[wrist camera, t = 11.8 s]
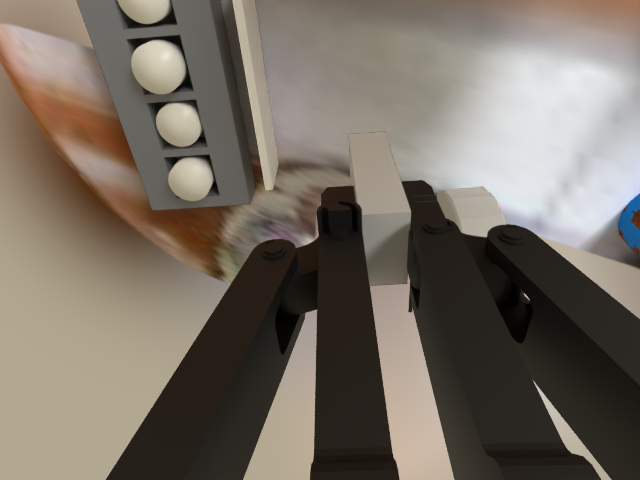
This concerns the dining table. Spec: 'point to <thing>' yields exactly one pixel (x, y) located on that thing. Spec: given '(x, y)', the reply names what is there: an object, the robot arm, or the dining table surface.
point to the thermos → (631, 225)
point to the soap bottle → (471, 209)
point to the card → (257, 87)
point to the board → (176, 98)
